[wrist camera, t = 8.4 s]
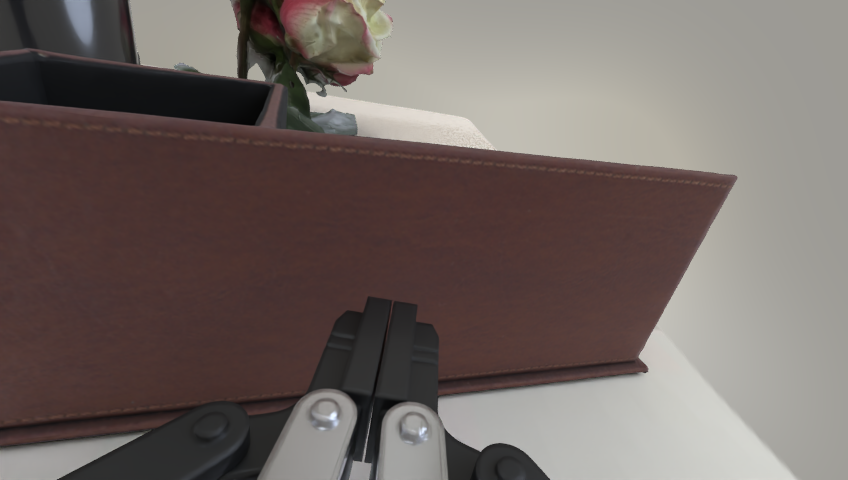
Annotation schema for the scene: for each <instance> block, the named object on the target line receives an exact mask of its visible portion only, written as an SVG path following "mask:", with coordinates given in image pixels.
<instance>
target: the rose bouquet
mask: <svg viewBox="0 0 848 480" xmlns="http://www.w3.org/2000/svg"><path fill="white" fill-rule="evenodd" d="M230 1H231V4H232V7H233V10H234V13H235V17H236V21H237V27H238V30H239V31H240V33H239V37H238V46H237V59H238V68H237V72H238V73H237V74H238V78H241V79H247V73H248V70H249V69H250V68H251V67H252V66H253V65H254V64H255V63H258V65H259V67H260V68H261V70H262V72H263V73H264V75H265V78H266V80H265V82H270V83H277V84H282V85H284V86H285V87H287V88H288V101H287V117H286V129H290V130H298V131H307V132H317V133H328V134H339V135H355V134H357V126H356V125H357V124H356V121H355V115H353V114H348V113H346V114H345V113H342V112H338V111H335V110H334V109H332V110H330V111H329V112H327V113H325V114H324V113H317V112H310V105H309V100H308V97H307V93H306V90H305V88H304V86H303V84H302V83H301V81H300V79H299V78H298V76H297V74H296V71H297V72H299V73H301V74H302V76H303V77H304V80H305V82H306V84H309V83H316V84H318V85H319V86H320V87H322V91H321V92H316V93H317V94H318V95H319V96H322V97H326V95H327V93H326V90H325V88H324V86H325V85H327V84H330V85H333V86H341V87H342V86H347V85H349V84H351V83H352V82H354V81H356V78H357V77H358V76H359V75H358V74H367V75H370V74H373V62H375V61H377V60H379V59H380V58H381V55H380V51H381V48H382V42H381V41H380V40H383V39H385V38H388V37H391V36H390V33H391V32H392V30H393V25H392V22H393V21H392V18H391V17H390V16H389V15H388V14H386V13H384V12H382V11H380V10H379V8H380V7H381V6H382V5H383V3H384V2H386V1H385V0H230ZM174 68H175V69H177V70H181V71H188V72H196V73H200V72H198V71H197V70H196V69H194V68H193V67H189V66H188V65H186V64H184V63H179V64H177V65H175V66H174ZM342 88H343V87H342ZM343 90H345V91H346V89H345V88H343ZM346 92H347V91H346Z"/></svg>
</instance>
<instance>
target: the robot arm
mask: <svg viewBox="0 0 848 480" xmlns="http://www.w3.org/2000/svg"><path fill="white" fill-rule="evenodd" d="M25 48H31V49H38V50H43V51H49V52H54V53H60V54H67V55H73V56H79V57H86V58H93V59H101V60H108V61H115V62H122V63H130V64H137V65H140V58H139V54H138V52H137V47H136V40H135V33H134V26H133V19H132V13H131V5H130V0H0V51H10V50H20V49H25ZM391 305H392V300H389V299H383V298H377V297H371V296H368V298H367V301H366V304H365V308H364V311H363V313H362V312H356V311H350V310H347V311H346V312H344V313H343V314H342V315H341V316H340V317H339V318H338V319H336V321H335V323H334V326H333V328H332V331H331V334H330V336H329V338H328V341H327V343H326V347H325V348H324V351H323V353H322V356H321V358H320V361H319V363H318V366H317V368H316V371H315V373H314V376H313V378H312V381H311V383H310V386H309V388H308V390H307V392H306V393H305V395H304V396H303V397H302V398H301V399H300V400H299V401H298V402H296V403H295V404H293V405H292V406H290V407H288V408H286V409H283V410H280V411H277V412H271V413H264V414H256V415H248V413H247V412H246V410H245V409H244V408H243V407H242V406H240V405H239V404H236V403H234V402H230V401H214V402H209V403H206V404H203V405H201V406H198V407H196V408H194V409H192V410H190V411H188V412H186V413H185V414H183V415H181V416H179V417H177V418H175V419H173V420H171V421H169V422H167V423H165V424H163V425H161V426H159V427H158V428H156V429H154V430H152V431H150V432H148V433H146V434H144V435H142V436H140V437H138V438H136V439H134V440H132V441H131V442H129V443H127V444H125V445H123V446H121V447H119V448H117V449H115V450H113V451H111V452H109V453H107V454H106V455H104V456H102V457H100V458H98V459H96V460H94V461H92V462H90V463H88V464H86V465H84V466H82V467H80V468H79V469H77V470H75V471H73V472H71V473H69V474H67V475H65V476H63V477H61V478H59V479H57V480H349V476H350V472H351V467H352V463H353V461H360V462H362V458H363V453H364V448H365V443H366V438H367V433H368V428H369V423H370V418H371V423H370V430H369V436H368V442H367V449H366V455H365V463H371V464H372V466H371V472H370V478H369V480H550V479H549V478H548V477H547V476H546V474H545V473H544V472H543V471H542V470H541V469H540V468H539V467H538V466H537V464H536V463H535V462H534V461H533V460H532V459H531V458H530V457H529V456H528V455H527V454H526V453H524V452H523V451H522V450H520V449H518V448H517V447H514V446H512V445H508V444H503V443H497V444H492V445H489V446H487V447H486V448H484V449H483V450H482V451H481V452H480V451H478V450H476V449H474V448H472V447H469V446H467V445H465V444H463V443H461V442H460V441H458V440H456V439H455V438H454V437H452V436H451V435H450V434H449V433H448V432H447V431H446V429H445V428H444V426H443V423H442V421H441V419H440V417H439V416H438V362H439V354H438V352H439V336H438V334H437V332H436V330H435V328H434V326H433V325H432V324H428V323H422V322H416V316H417V307H418V304H412V303H406V302H400V301H394V303H393V308H392V313H391V318H390V323H389V317H390V311H391ZM388 323H389V328H388ZM387 330H388V333H387ZM386 336H387V338H386ZM385 342H386V343H385ZM373 403H374V404H373ZM372 408H373V410H372ZM371 413H372V417H371Z"/></svg>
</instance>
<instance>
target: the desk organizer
mask: <svg viewBox="0 0 848 480" xmlns="http://www.w3.org/2000/svg"><path fill="white" fill-rule="evenodd" d="M287 101H288V88H287V87H285V86H284V85H282V84H277V83H270V82H264V81H256V80H248V79H241V78H233V77H226V76H218V75H209V74H203V73H196V72H188V71H181V70H174V69H166V68H158V67H151V66H144V65H137V64H130V63H122V62H115V61H108V60H101V59H93V58H86V57H79V56H73V55H67V54H60V53H54V52H49V51H43V50H38V49H31V48H25V49H20V50H10V51H0V447H2V446H11V445H20V444H29V443H38V442H47V441H56V440H65V439H73V438H82V437H91V436H100V435H109V434H117V433H125V432H133V431H141V430H150V429H156V428H158V427H159V426H161V425H163V424H165V423H167V422H169V421H171V420H173V419H175V418H177V417H179V416H181V415H183V414H185V413H186V412H188V411H190V410H192V409H194V408H196V407H198V406H201V405H203V404H206V403H209V402H214V401H230V402H234V403H236V404H239V405H240V406H242V407H243V408H244V409H245V410H246V412H247V413H248V415H256V414H264V413H271V412H277V411H280V410H283V409H286V408H288V407H290V406H292V405H293V404H295V403H296V402H298V401H299V400H300V399H301V398H302V397H303V396H304V395H305V393H306V392H307V390H308V388H309V386H310V383H311V381H312V378H313V376H314V373H315V371H316V368H317V366H318V363H319V361H320V358H321V356H322V353H323V351H324V348H325V347H326V343H327V341H328V338H329V336H330V334H331V331H332V328H333V326H334V323H335V321H336V319H338V318H339V317H340V316H341V315H342V314H343V313H344V312H346V311H347V310H350V311H356V312H362V313H363V311H364V308H365V304H366V301H367V298H368V296H371V297H377V298H383V299H389V300H392V305H391V311H390V317H389V323H390V318H391V313H392V308H393V303H394V301H400V302H406V303H412V304H418V307H417V316H416V322H422V323H428V324H432V325H433V326H434V328H435V330H436V332H437V334H438V336H439V352H438V354H439V362H438V395H446V394H456V393H463V392H471V391H483V390H490V389H498V388H506V387H518V386H527V385H535V384H544V383H552V382H561V381H569V380H577V379H585V378H594V377H602V376H609V375H619V374H626V373H637V372H643V373H646V372H648V367H647V366H646V365H645V364H644V363H643V362H642V361H641V360H640V359H639V358H638V356H639V354H640V352H641V351H642V349H643V348H644V346H645V344H646V342H647V339H648V338H649V336H650V334H651V332H652V331H653V329H654V327H655V326H656V324H657V322H658V320H659V318H660V317H661V315H662V313H663V311H664V309H665V307H666V306H667V304H668V302H669V300H670V299H671V297H672V295H673V293H674V291H675V289H676V288H677V286H678V284H679V282H680V281H681V279H682V277H683V275H684V273H685V271H686V270H687V268H688V266H689V264H690V262H691V260H692V258H693V257H694V255H695V253H696V251H697V250H698V248H699V246H700V244H701V243H702V241H703V239H704V237H705V236H706V233H707V231H708V229H709V228H710V226H711V224H712V222H713V221H714V219H715V217H716V215H717V214H718V212H719V210H720V208H721V207H722V205H723V203H724V201H725V199H726V198H727V196H728V194H729V192H730V190H731V189H732V187H733V185H734V183H735V182H736V180H737V176H735V175H725V174H724V175H723V174H717V173H709V172H701V171H692V170H682V169H673V168H664V167H653V166H640V165H629V164H620V163H611V162H602V161H592V160H582V159H571V158H560V157H550V156H541V155H532V154H522V153H513V152H504V151H495V150H485V149H476V148H467V147H458V146H449V145H440V144H430V143H420V142H410V141H400V140H390V139H380V138H370V137H360V136H350V135H339V134H328V133H317V132H307V131H298V130H290V129H286V117H287ZM389 323H388V328H389ZM387 333H388V330H387ZM386 338H387V336H386ZM385 343H386V342H385Z"/></svg>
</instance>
